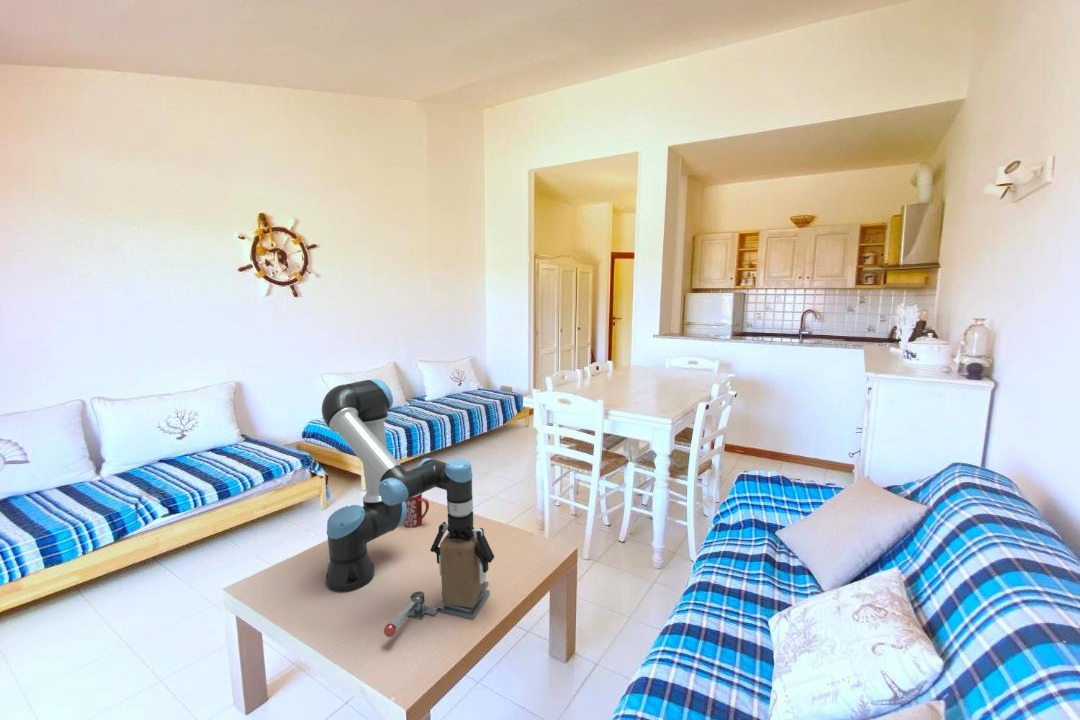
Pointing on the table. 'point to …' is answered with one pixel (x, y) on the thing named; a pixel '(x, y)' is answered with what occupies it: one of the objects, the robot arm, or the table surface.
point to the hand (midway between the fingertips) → (462, 577)
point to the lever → (404, 613)
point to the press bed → (453, 608)
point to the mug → (415, 511)
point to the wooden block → (460, 572)
